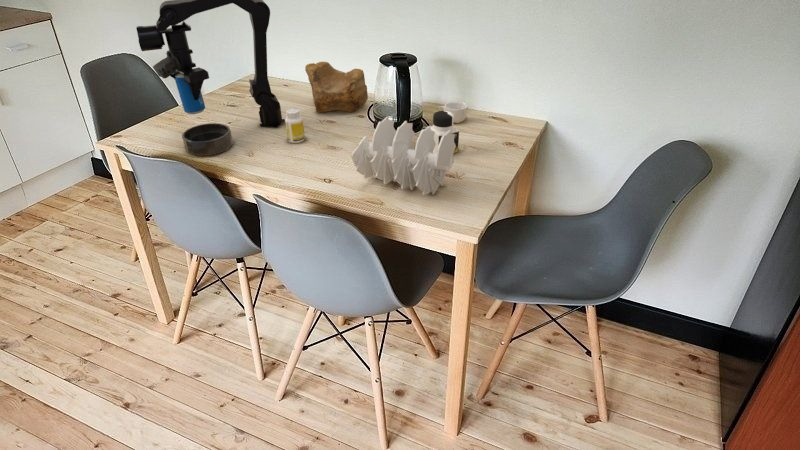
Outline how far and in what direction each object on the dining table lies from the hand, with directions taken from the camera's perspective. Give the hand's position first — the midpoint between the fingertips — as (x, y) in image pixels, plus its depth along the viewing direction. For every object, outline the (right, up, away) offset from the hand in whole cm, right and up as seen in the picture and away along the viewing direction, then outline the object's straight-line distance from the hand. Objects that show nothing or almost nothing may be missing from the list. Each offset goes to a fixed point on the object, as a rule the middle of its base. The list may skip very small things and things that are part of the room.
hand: (191, 97), depth 168 cm
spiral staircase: (+68, -29, -22) cm, 77 cm away
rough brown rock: (+42, +2, +25) cm, 49 cm away
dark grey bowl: (+6, -16, -1) cm, 17 cm away
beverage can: (0, -4, +3) cm, 5 cm away
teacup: (+84, -5, +15) cm, 85 cm away
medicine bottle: (+79, -18, -5) cm, 81 cm away
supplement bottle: (+33, -13, +3) cm, 35 cm away
